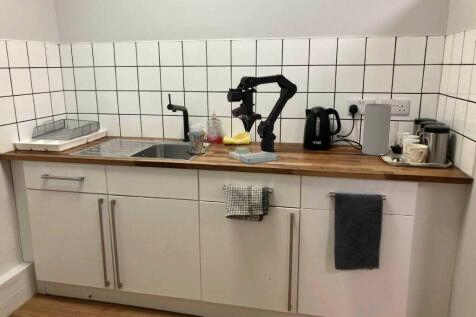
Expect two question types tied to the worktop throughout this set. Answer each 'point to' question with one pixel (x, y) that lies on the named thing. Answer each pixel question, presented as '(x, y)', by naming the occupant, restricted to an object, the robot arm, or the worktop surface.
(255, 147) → the terracotta tile
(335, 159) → the worktop surface
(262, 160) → the tray
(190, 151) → the mug
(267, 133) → the robot arm
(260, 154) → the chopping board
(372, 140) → the cylinder vase
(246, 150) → the sage tile
